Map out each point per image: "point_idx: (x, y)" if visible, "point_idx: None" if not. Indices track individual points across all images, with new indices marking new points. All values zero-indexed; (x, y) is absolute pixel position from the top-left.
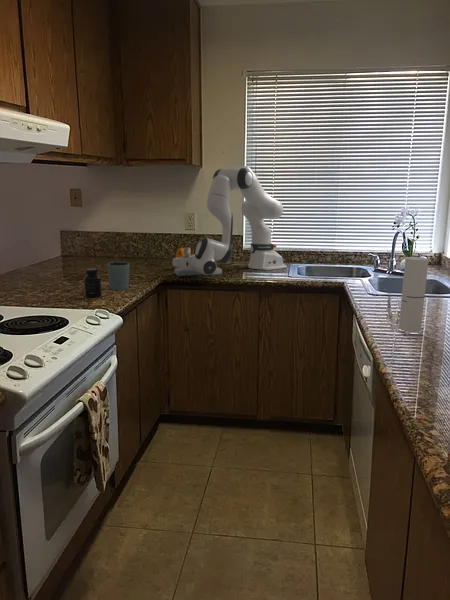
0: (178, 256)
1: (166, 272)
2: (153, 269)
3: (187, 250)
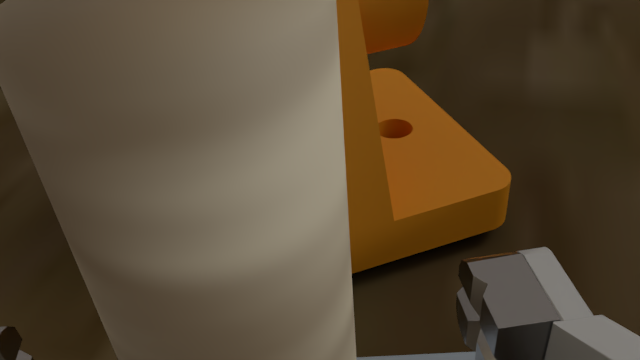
0: None
1: (26, 335)
2: (19, 161)
3: (129, 176)
